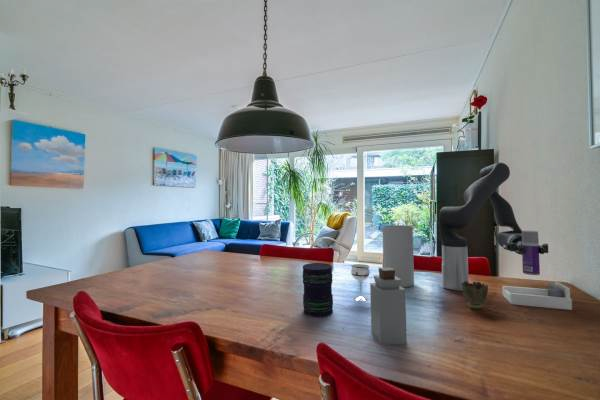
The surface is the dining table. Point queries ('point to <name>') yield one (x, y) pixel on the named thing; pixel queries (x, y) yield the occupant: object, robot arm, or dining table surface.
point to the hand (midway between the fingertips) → (532, 250)
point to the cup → (475, 294)
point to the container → (530, 253)
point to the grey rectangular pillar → (399, 252)
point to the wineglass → (360, 277)
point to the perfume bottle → (388, 308)
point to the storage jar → (317, 289)
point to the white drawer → (538, 297)
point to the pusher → (554, 291)
